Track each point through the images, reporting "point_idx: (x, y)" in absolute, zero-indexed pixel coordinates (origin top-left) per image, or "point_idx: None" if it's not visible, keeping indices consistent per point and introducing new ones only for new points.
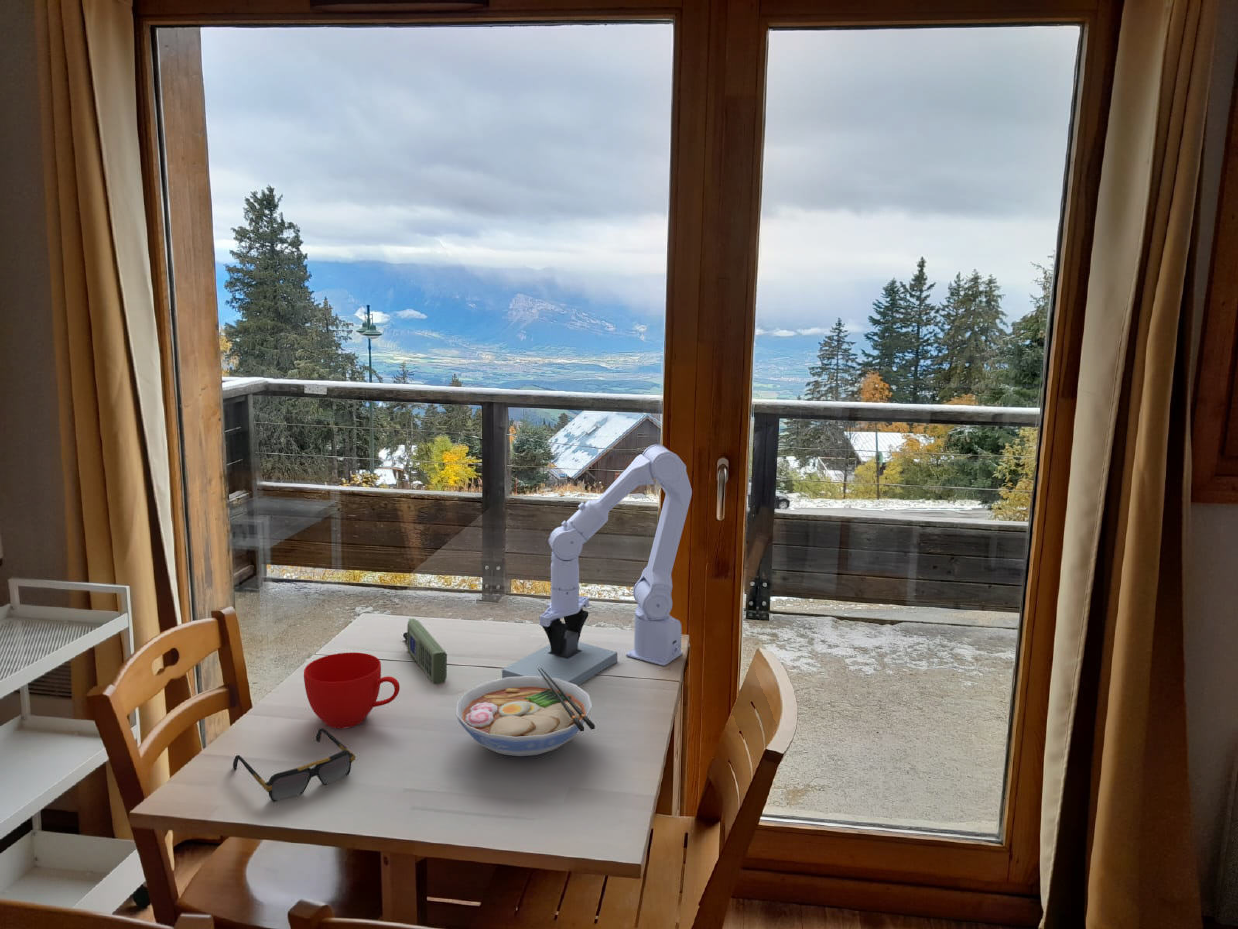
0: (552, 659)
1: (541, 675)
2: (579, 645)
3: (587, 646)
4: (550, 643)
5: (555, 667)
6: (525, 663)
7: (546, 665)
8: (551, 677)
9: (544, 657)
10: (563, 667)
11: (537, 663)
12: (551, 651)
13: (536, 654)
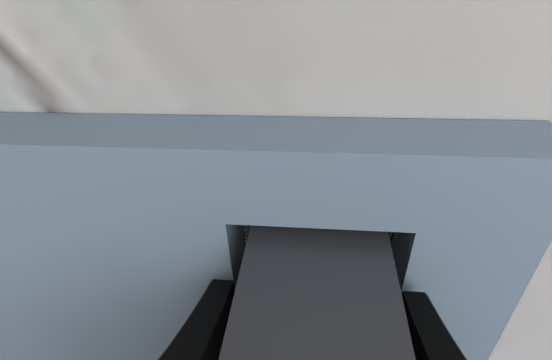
0: (176, 286)
1: (9, 323)
2: (460, 311)
3: (462, 344)
4: (177, 339)
5: (117, 332)
6: (4, 203)
7: (95, 297)
8: (38, 355)
9: (160, 244)
10: (148, 352)
11: (69, 254)
12: (246, 250)
13: (155, 180)
